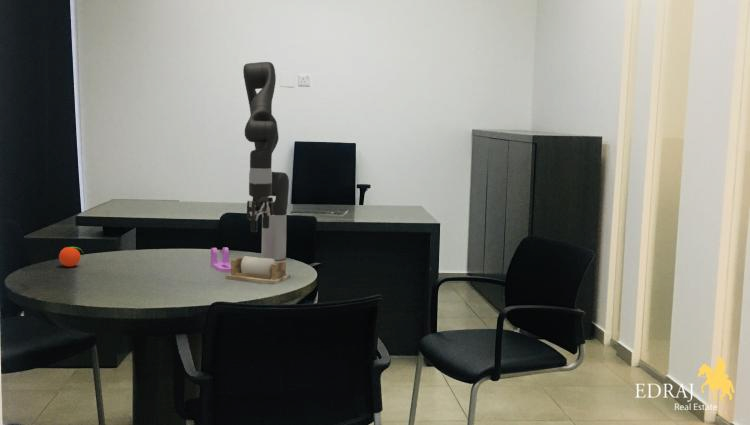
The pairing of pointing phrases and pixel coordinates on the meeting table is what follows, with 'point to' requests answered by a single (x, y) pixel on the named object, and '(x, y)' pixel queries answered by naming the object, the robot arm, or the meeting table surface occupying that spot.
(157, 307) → the meeting table surface
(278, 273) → the cradle
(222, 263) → the bracket
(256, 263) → the roll
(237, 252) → the meeting table surface
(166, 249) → the meeting table surface
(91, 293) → the meeting table surface
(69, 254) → the clementine
